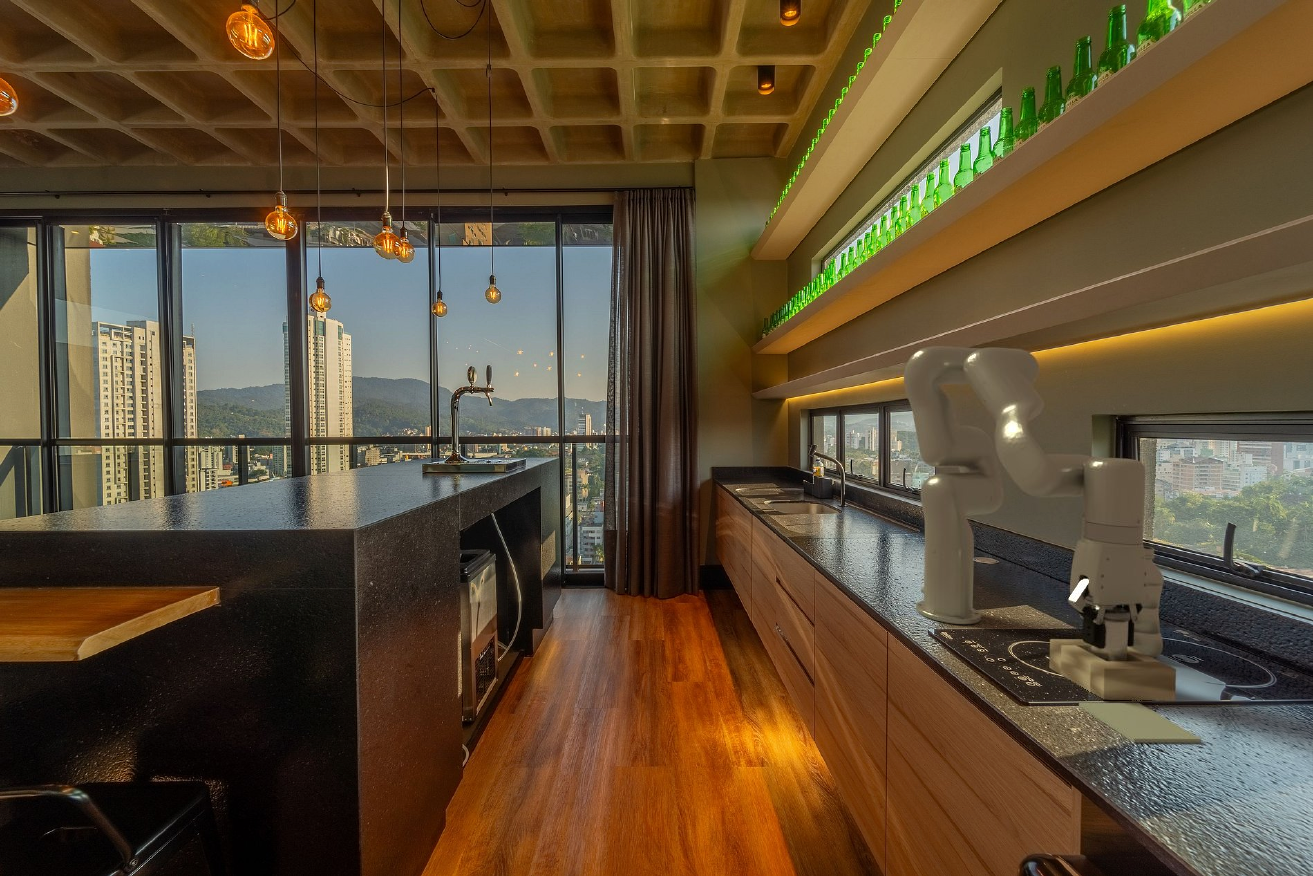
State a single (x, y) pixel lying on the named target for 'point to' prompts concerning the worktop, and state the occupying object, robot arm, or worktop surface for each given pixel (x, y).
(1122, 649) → the grey cylindrical piece
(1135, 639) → the plastic bottle
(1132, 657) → the tan square frame
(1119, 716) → the mat
